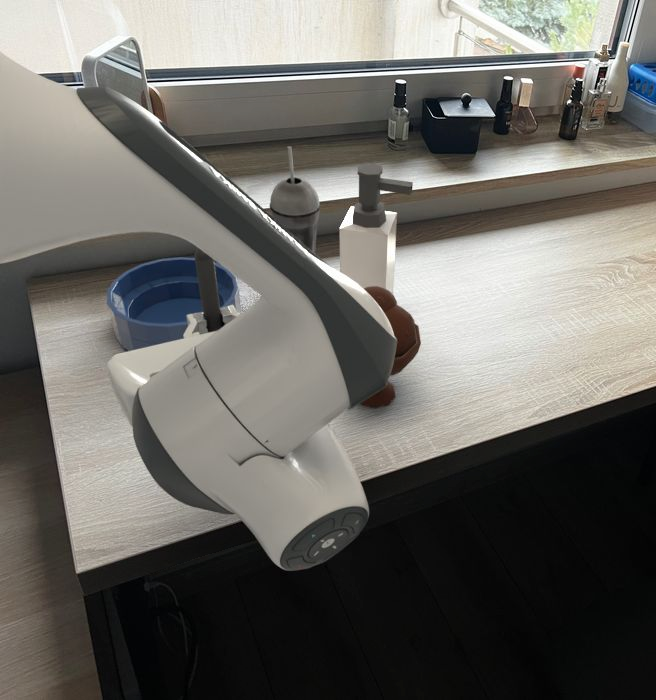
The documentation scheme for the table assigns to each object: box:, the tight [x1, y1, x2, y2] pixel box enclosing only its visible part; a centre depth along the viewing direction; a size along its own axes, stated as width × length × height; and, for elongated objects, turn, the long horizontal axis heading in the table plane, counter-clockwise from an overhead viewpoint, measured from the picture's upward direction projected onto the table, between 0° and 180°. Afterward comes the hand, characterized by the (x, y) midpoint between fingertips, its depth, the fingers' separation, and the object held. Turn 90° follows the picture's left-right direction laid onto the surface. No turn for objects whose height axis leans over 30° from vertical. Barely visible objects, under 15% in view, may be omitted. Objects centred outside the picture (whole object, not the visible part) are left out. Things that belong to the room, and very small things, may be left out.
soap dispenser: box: [339, 162, 414, 295], centre depth 100 cm, size 6×9×22 cm
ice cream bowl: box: [359, 286, 422, 409], centre depth 88 cm, size 11×11×15 cm
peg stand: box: [194, 248, 223, 333], centre depth 70 cm, size 6×6×18 cm
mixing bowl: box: [106, 256, 242, 352], centre depth 97 cm, size 16×16×6 cm
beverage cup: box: [269, 146, 322, 254], centre depth 106 cm, size 7×7×20 cm
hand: (210, 315), depth 70 cm, fingers closed on peg stand
